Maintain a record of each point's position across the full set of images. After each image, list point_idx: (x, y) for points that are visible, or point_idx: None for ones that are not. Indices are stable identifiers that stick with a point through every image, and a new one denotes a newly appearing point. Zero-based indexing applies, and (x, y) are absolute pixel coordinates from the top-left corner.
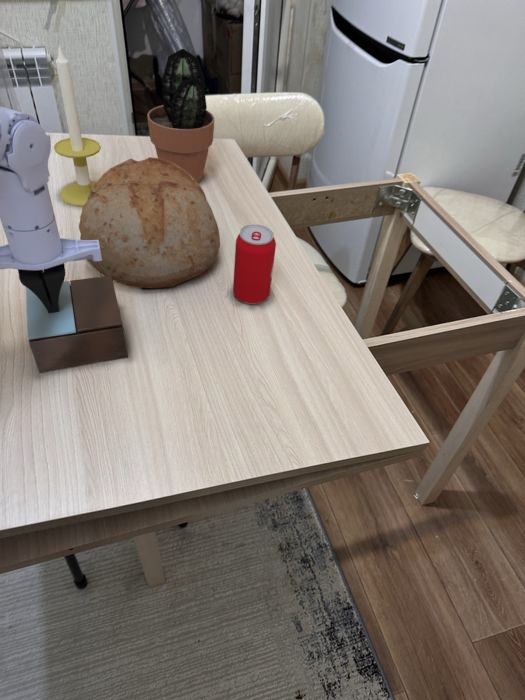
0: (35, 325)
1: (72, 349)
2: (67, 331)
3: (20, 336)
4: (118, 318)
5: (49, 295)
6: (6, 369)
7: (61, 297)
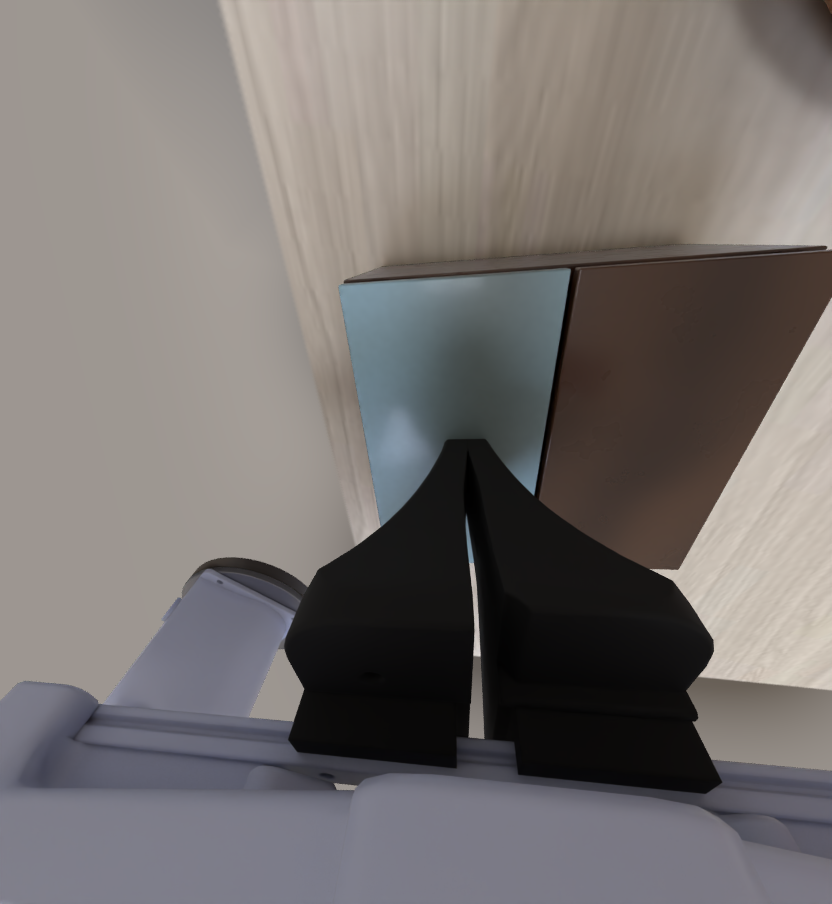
0: None
1: None
2: None
3: (343, 335)
4: (679, 554)
5: (465, 496)
6: (332, 445)
7: (505, 408)
